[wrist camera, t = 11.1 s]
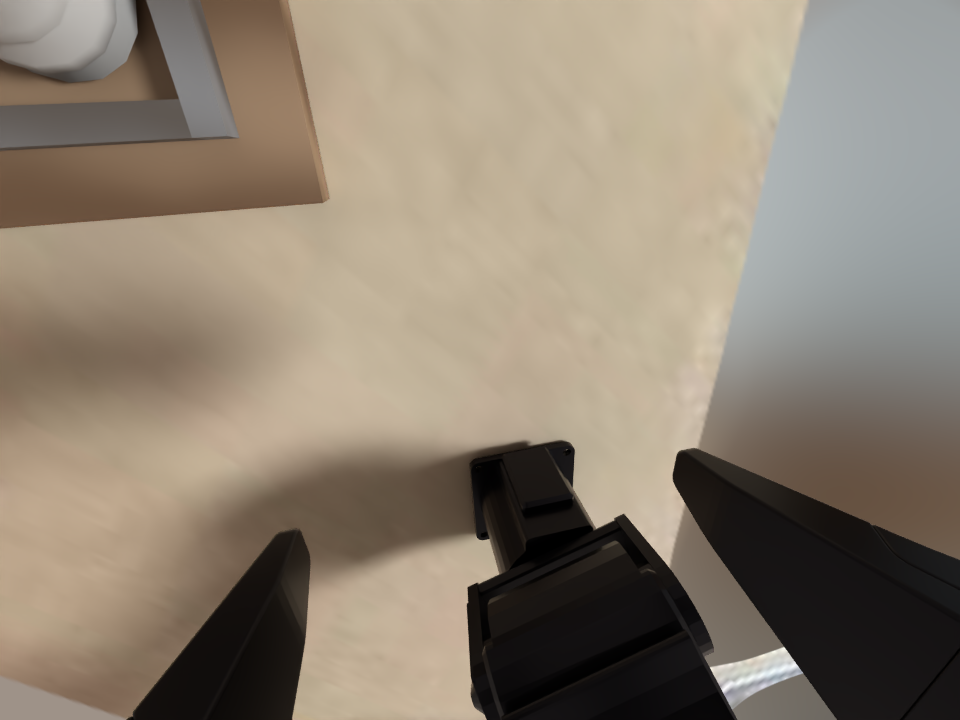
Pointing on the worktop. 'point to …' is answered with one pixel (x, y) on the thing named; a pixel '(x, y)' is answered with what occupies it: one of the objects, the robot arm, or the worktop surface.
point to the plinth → (166, 123)
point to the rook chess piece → (67, 36)
